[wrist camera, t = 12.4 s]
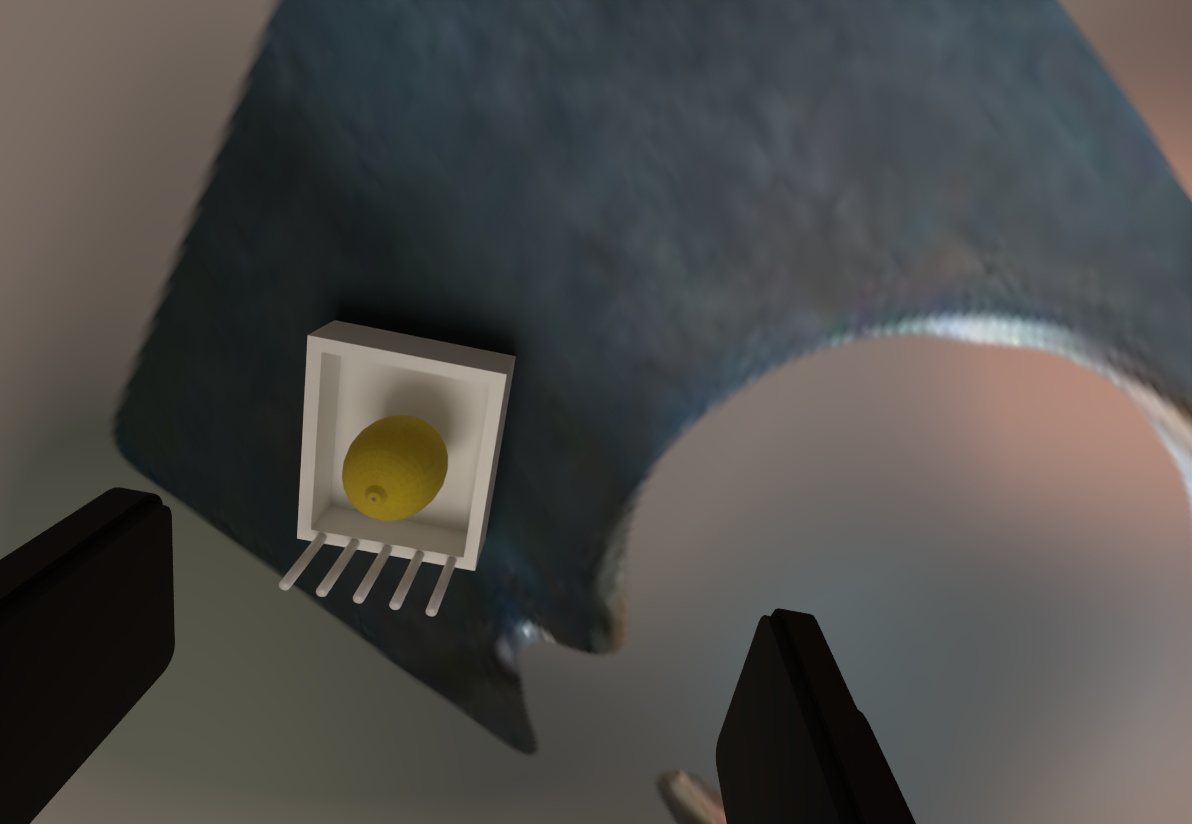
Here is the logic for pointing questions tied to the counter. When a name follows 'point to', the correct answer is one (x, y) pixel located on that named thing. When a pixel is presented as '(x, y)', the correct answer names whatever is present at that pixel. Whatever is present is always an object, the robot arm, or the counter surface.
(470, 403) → the rack
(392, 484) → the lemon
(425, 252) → the counter surface
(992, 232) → the counter surface
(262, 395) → the counter surface
